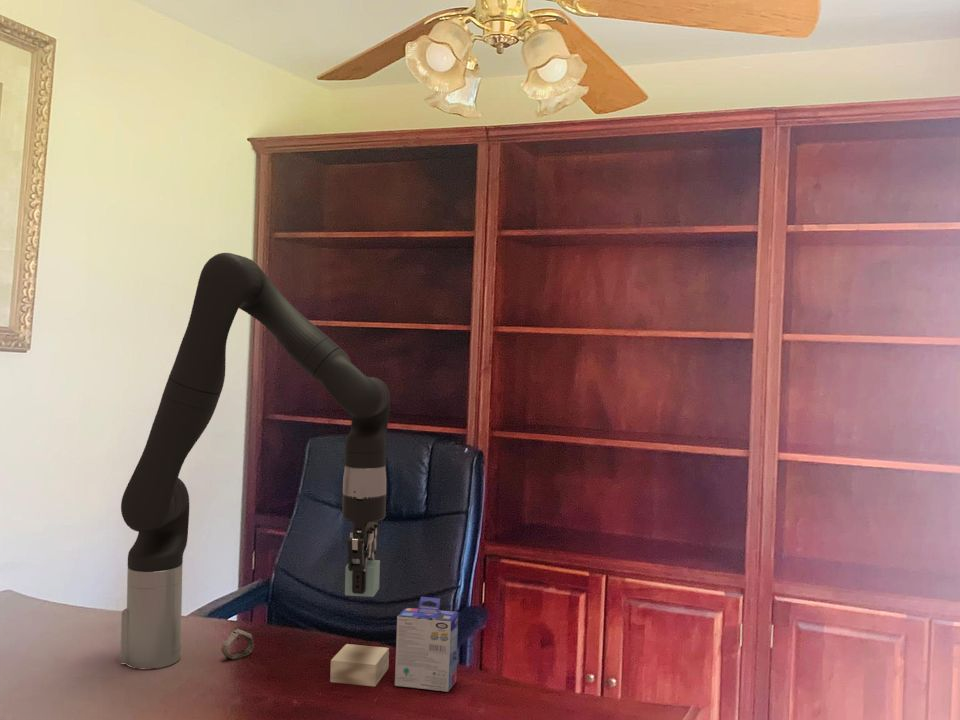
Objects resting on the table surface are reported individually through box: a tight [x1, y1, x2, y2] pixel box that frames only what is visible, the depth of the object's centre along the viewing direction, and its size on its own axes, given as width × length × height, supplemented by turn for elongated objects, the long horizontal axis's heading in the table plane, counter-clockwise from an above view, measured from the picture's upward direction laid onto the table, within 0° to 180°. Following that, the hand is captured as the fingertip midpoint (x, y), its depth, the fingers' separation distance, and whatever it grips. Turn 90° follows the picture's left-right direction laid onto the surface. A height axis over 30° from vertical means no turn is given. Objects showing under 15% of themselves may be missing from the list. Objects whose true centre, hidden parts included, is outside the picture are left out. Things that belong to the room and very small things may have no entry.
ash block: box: [329, 643, 390, 688], centre depth 144 cm, size 8×8×4 cm
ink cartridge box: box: [394, 596, 459, 693], centre depth 141 cm, size 10×6×14 cm, turn 78°
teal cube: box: [344, 559, 381, 598], centre depth 144 cm, size 5×5×5 cm
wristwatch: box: [221, 628, 255, 660], centre depth 151 cm, size 4×6×5 cm, turn 144°
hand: (362, 587), depth 144 cm, fingers closed on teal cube, 5 cm apart
